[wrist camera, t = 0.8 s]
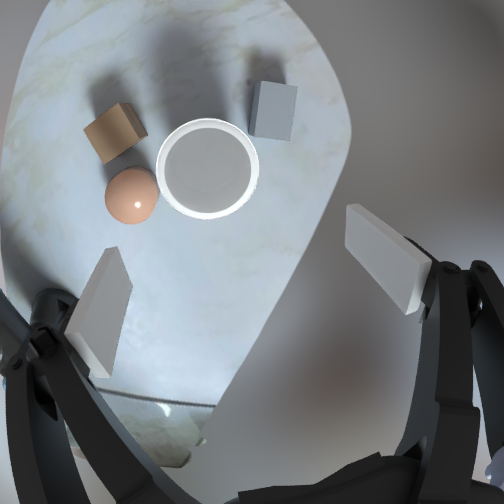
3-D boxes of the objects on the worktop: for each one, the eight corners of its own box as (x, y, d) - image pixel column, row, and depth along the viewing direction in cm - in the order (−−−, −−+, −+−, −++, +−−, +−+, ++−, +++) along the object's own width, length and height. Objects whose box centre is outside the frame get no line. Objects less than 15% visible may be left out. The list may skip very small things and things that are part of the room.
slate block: (248, 133, 39) (254, 136, 34) (254, 84, 35) (261, 80, 30) (280, 137, 40) (289, 141, 35) (286, 89, 36) (297, 86, 32)
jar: (160, 134, 36) (137, 147, 23) (224, 106, 36) (237, 102, 23) (188, 195, 41) (183, 236, 29) (250, 168, 41) (274, 198, 28)
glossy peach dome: (119, 219, 41) (113, 229, 38) (107, 173, 37) (98, 179, 34) (164, 209, 42) (161, 218, 38) (154, 161, 38) (149, 166, 34)
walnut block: (116, 156, 36) (104, 164, 31) (98, 126, 33) (83, 129, 28) (148, 135, 36) (139, 139, 31) (129, 103, 33) (118, 102, 28)
